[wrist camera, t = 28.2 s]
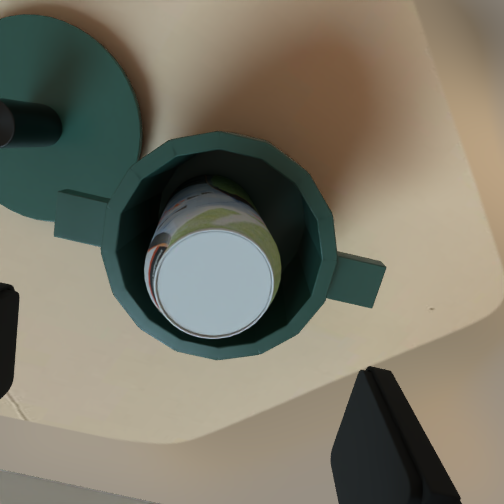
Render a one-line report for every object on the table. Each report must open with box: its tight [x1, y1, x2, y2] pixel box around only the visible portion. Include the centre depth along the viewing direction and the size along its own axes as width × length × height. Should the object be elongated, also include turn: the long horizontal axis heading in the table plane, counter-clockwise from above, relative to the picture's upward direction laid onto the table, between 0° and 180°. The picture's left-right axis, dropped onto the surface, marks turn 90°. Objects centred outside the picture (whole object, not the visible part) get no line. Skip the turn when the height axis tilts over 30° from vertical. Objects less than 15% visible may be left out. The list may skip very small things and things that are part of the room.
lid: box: [0, 14, 142, 222], centre depth 23 cm, size 13×13×6 cm
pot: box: [54, 131, 386, 360], centre depth 23 cm, size 12×17×8 cm
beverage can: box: [144, 175, 281, 339], centre depth 21 cm, size 6×7×12 cm
